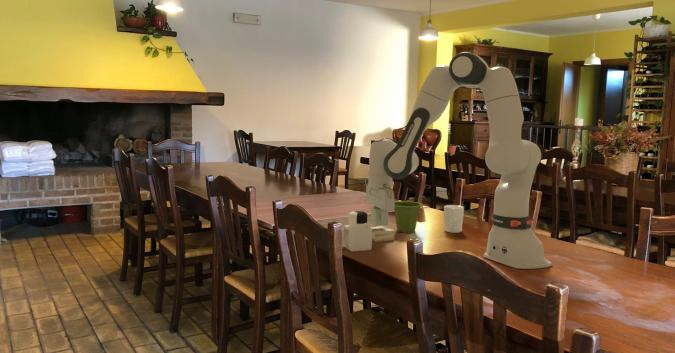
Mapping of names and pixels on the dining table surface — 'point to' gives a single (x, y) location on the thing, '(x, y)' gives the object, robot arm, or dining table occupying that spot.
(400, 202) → the plant pot
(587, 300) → the dining table surface
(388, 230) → the beech block
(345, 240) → the container
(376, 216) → the sage block
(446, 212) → the white cup
